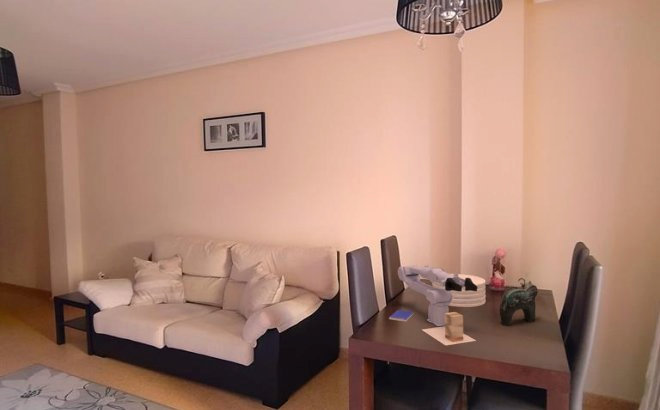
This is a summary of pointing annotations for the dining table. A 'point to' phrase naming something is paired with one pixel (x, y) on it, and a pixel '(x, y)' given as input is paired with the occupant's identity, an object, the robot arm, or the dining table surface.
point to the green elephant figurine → (518, 302)
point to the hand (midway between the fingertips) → (468, 288)
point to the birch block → (454, 326)
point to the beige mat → (440, 336)
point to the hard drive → (401, 315)
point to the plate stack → (467, 293)
